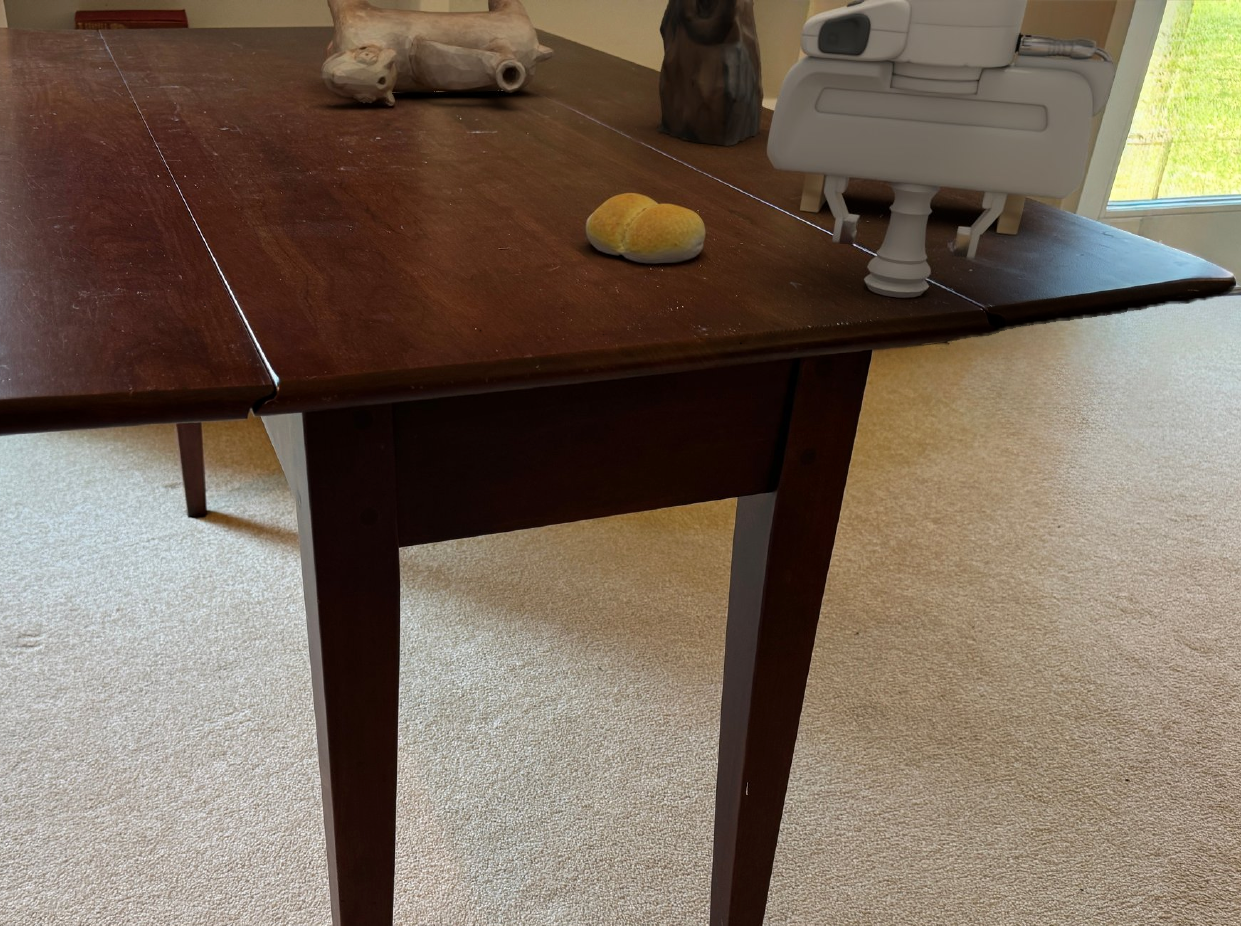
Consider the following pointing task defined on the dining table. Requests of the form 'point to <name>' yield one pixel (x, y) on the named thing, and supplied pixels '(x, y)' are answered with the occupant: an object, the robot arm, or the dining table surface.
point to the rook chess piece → (903, 244)
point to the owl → (710, 71)
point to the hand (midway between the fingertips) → (902, 249)
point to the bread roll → (645, 230)
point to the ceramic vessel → (429, 50)
